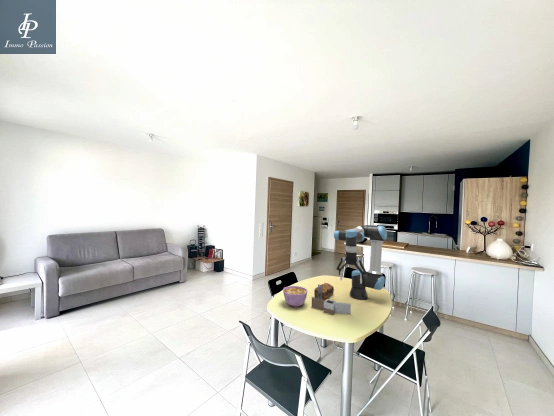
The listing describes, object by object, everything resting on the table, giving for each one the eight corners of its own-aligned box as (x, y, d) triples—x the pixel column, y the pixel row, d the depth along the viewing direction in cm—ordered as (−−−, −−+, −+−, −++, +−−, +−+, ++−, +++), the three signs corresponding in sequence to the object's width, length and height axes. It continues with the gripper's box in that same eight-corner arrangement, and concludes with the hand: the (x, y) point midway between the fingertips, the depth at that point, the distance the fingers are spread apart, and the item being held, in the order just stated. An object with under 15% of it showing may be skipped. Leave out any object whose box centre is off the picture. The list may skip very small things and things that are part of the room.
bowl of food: (290, 297, 187) (291, 284, 188) (311, 303, 176) (311, 289, 176) (277, 305, 171) (278, 290, 171) (299, 312, 160) (300, 296, 160)
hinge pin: (318, 302, 178) (318, 284, 179) (321, 303, 177) (322, 285, 177) (317, 303, 176) (317, 285, 176) (320, 304, 174) (320, 286, 174)
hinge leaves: (314, 304, 174) (314, 295, 174) (351, 313, 159) (351, 303, 159) (309, 308, 166) (310, 299, 166) (347, 319, 151) (348, 308, 151)
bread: (324, 292, 202) (324, 281, 202) (334, 295, 195) (334, 284, 195) (313, 297, 188) (313, 286, 188) (324, 301, 181) (324, 289, 181)
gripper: (332, 250, 157) (332, 280, 156) (369, 254, 144) (369, 286, 144) (334, 249, 163) (334, 277, 163) (370, 252, 151) (370, 283, 150)
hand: (350, 281), depth 153 cm, fingers open, 13 cm apart
